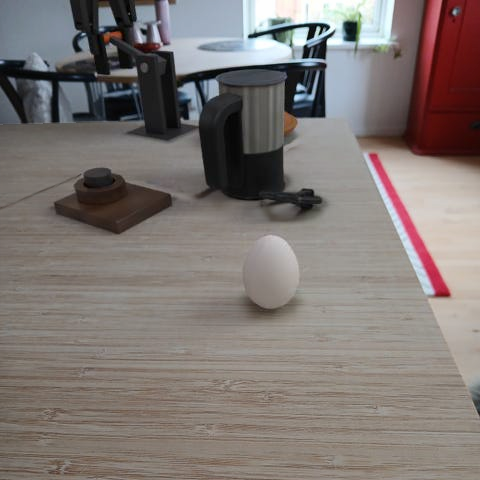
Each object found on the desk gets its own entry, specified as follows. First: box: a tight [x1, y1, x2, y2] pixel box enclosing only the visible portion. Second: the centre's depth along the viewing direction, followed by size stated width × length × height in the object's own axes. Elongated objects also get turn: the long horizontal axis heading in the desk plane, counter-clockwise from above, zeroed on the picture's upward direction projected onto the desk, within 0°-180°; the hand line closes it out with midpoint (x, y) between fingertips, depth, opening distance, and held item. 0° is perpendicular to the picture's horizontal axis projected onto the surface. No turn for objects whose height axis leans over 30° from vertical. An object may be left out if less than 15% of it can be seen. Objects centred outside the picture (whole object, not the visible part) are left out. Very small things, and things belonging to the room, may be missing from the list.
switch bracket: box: [127, 49, 199, 142], centre depth 91 cm, size 10×9×14 cm
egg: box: [242, 234, 300, 310], centre depth 48 cm, size 5×5×7 cm
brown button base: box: [53, 172, 173, 235], centre depth 68 cm, size 12×10×4 cm
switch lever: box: [103, 31, 167, 75], centre depth 89 cm, size 13×5×2 cm, turn 55°
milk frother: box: [198, 68, 323, 210], centre depth 66 cm, size 14×16×15 cm
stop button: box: [83, 166, 113, 188], centre depth 68 cm, size 4×4×2 cm
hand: (115, 71), depth 94 cm, fingers closed on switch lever, 5 cm apart
